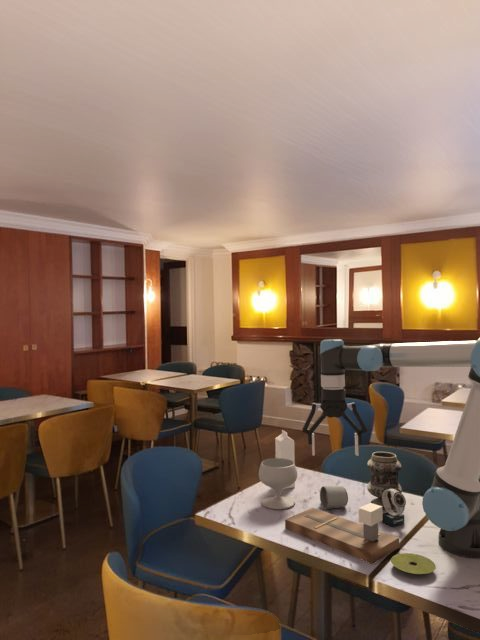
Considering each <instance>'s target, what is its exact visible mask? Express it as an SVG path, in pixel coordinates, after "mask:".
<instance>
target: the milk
mask: <svg viewBox="0 0 480 640" xmlns="http://www.w3.org/2000/svg"><path fill="white" fill-rule="evenodd" d="M274 439H275V442H274V443H275V444H274V445H275V458H283V459H288V460H291V461H293V462H294V464H295V440H294V439H293V438H291V437H289V436H288V432H287V431H285V430H283V429H281V433H280V434H279V435H278V436H276V437H275V438H274ZM295 483H296V481H295V482H294V483H293V484H292V485H290V486H288V487H286V488H284V489H283V490H286V489H295V487H296V484H295Z"/></svg>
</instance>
